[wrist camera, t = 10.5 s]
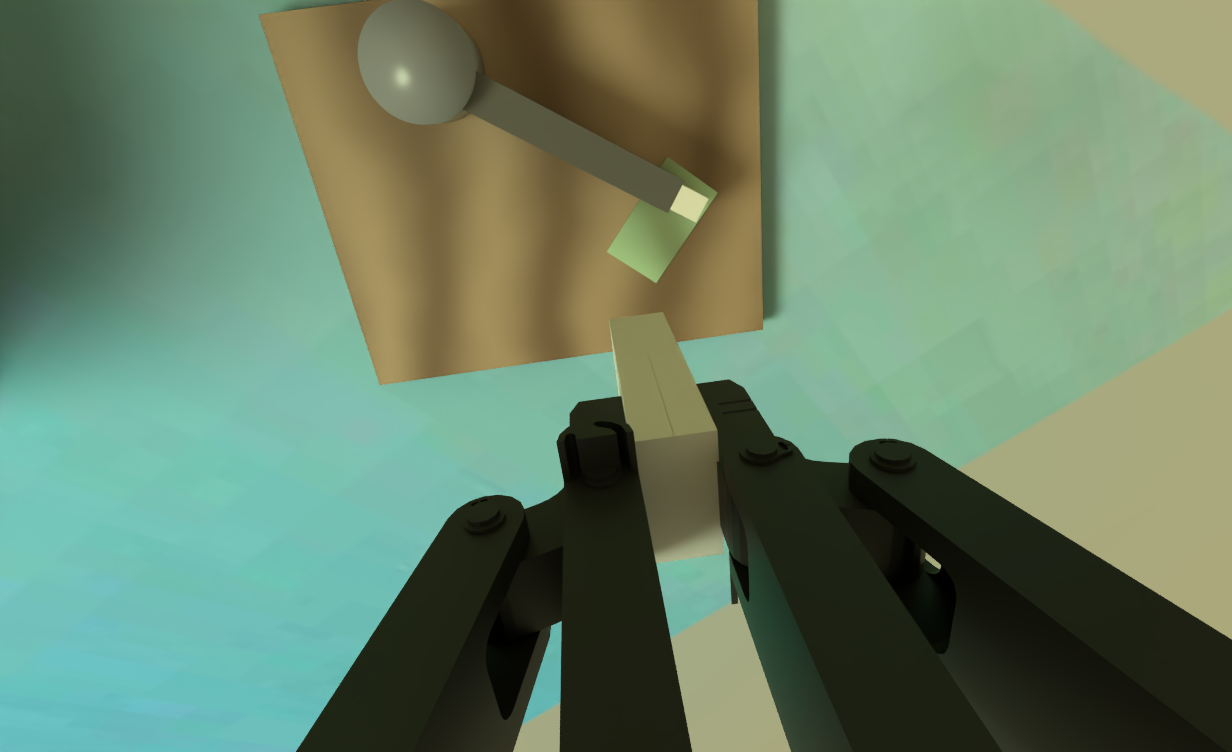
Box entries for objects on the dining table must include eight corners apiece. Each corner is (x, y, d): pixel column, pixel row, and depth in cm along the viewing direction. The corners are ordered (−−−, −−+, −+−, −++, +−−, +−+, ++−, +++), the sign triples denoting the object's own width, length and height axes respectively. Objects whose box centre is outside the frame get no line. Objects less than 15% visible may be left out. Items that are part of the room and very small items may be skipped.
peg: (373, 95, 27) (344, 92, 23) (403, -6, 25) (377, -26, 22) (669, 240, 31) (683, 257, 27) (710, 160, 29) (731, 167, 25)
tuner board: (385, 376, 34) (379, 385, 33) (271, 18, 26) (257, 14, 25) (756, 322, 34) (763, 330, 33) (749, -44, 27) (757, -51, 26)
